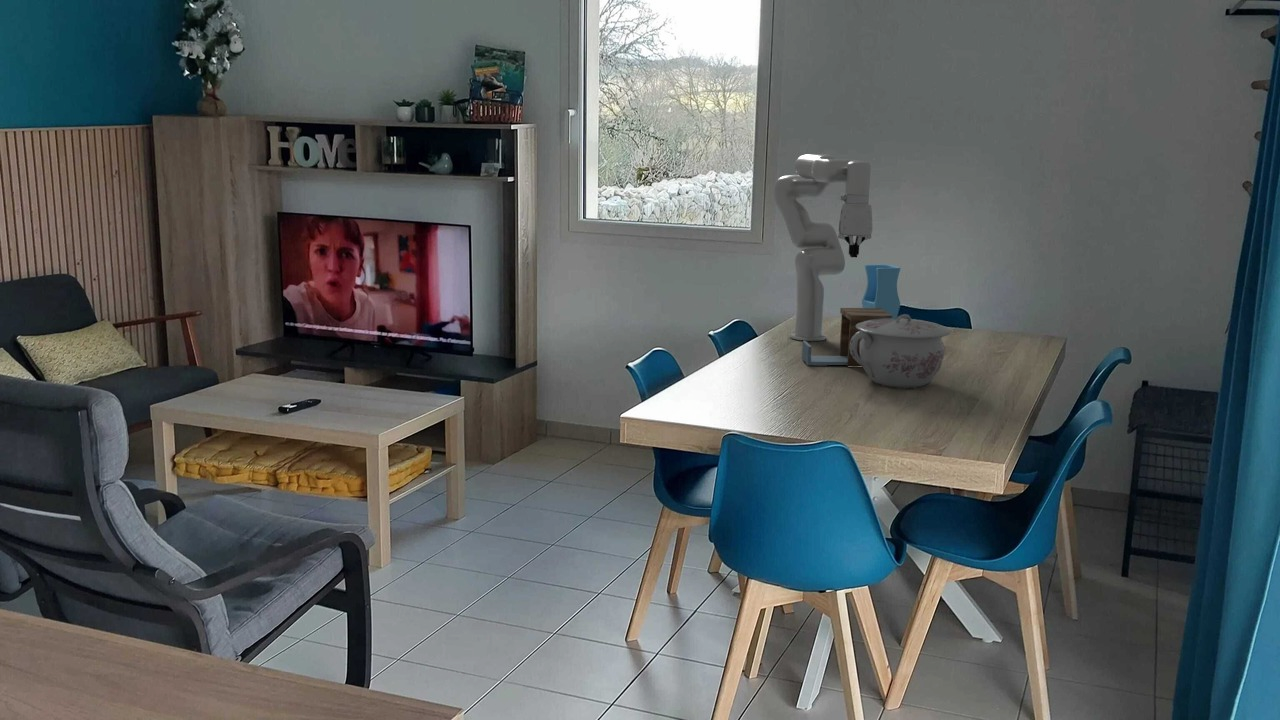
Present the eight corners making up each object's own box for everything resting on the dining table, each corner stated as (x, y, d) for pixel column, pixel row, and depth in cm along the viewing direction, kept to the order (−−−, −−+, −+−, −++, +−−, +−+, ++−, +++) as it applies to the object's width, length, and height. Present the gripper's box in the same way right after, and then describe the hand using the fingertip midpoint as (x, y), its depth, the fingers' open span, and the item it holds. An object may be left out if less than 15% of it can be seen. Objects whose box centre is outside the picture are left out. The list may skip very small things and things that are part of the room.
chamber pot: (947, 377, 347) (953, 309, 343) (946, 397, 321) (952, 325, 317) (854, 369, 354) (858, 303, 350) (845, 389, 328) (849, 318, 324)
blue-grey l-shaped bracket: (801, 359, 367) (802, 340, 366) (872, 359, 368) (873, 341, 367) (807, 365, 358) (808, 346, 357) (879, 365, 360) (881, 347, 358)
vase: (859, 333, 414) (864, 264, 409) (884, 332, 417) (888, 264, 411) (873, 338, 405) (877, 268, 399) (897, 337, 408) (902, 267, 402)
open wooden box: (837, 358, 370) (840, 307, 367) (877, 358, 371) (880, 308, 367) (847, 367, 356) (851, 315, 353) (888, 368, 357) (892, 315, 354)
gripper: (836, 200, 363) (833, 258, 367) (882, 201, 364) (879, 258, 368) (831, 198, 371) (828, 255, 375) (876, 199, 372) (873, 255, 376)
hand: (853, 256), depth 371 cm, fingers closed
